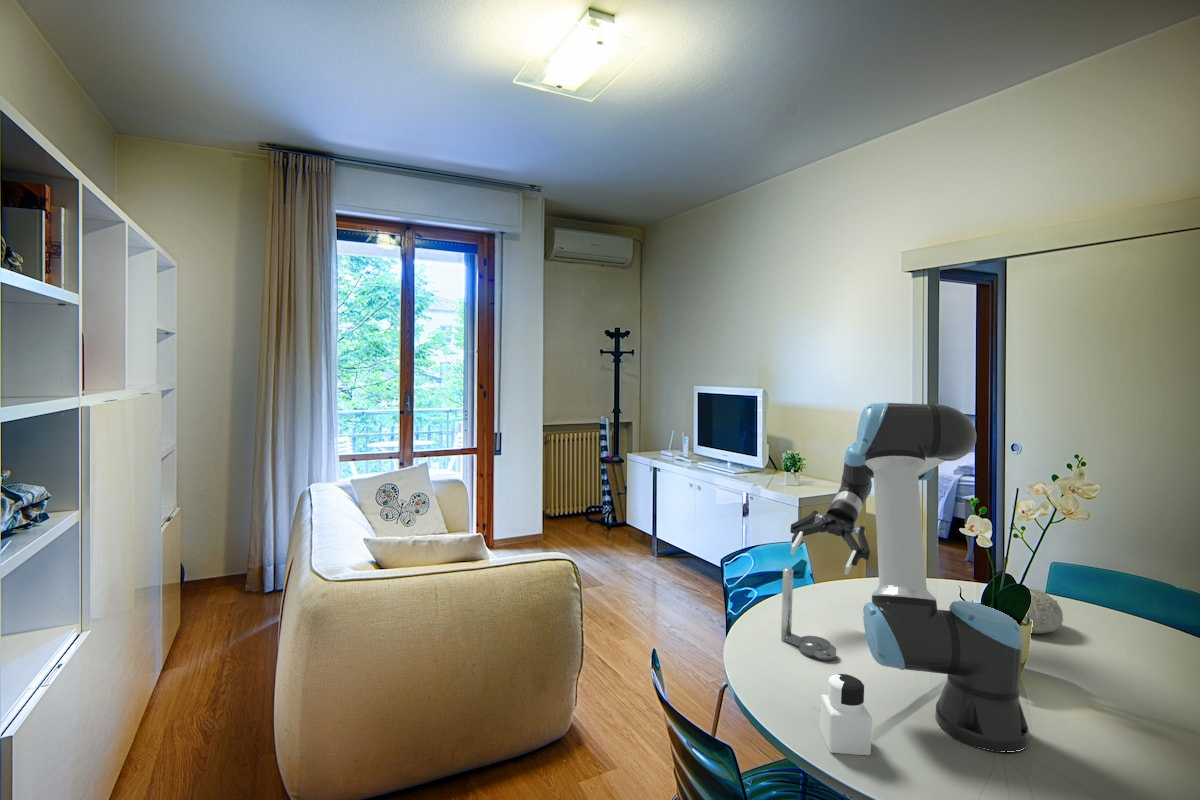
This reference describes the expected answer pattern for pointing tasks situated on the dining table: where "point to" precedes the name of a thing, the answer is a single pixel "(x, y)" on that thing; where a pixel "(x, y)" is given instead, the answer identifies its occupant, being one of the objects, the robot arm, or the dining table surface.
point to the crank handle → (807, 644)
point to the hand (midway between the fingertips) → (818, 560)
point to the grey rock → (1044, 612)
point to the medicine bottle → (845, 717)
